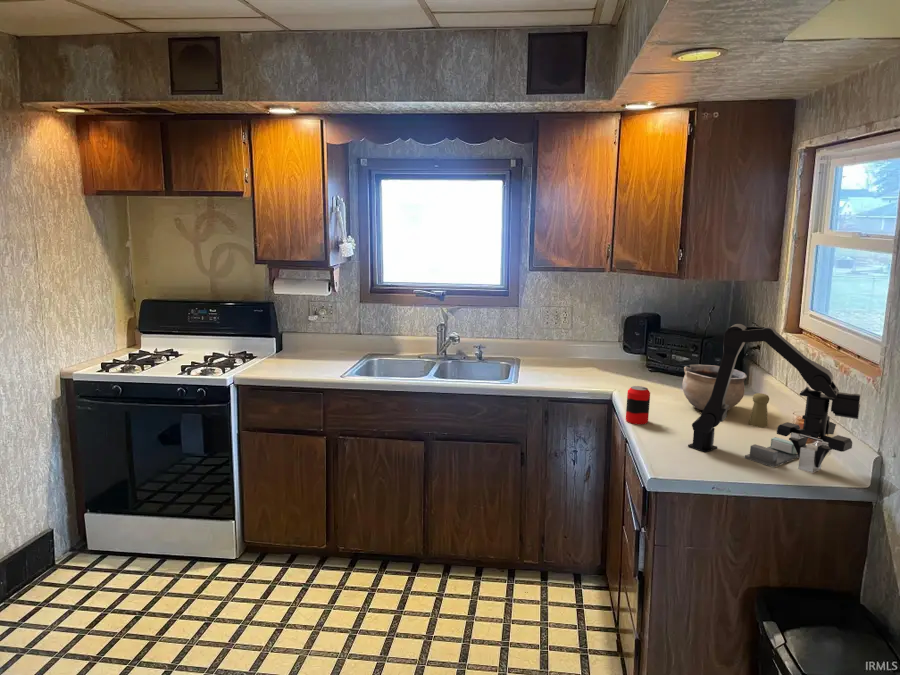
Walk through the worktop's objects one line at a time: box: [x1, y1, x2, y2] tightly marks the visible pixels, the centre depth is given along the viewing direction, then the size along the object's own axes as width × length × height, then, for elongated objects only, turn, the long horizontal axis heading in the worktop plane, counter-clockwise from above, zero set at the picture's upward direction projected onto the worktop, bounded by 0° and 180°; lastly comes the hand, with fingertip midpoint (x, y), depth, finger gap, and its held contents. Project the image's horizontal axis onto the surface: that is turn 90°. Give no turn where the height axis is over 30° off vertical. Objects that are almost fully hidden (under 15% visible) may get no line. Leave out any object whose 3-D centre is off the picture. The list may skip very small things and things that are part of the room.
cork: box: [748, 392, 770, 428], centre depth 236 cm, size 6×6×11 cm
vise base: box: [744, 444, 799, 468], centre depth 204 cm, size 15×9×4 cm, turn 127°
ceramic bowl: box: [682, 364, 748, 411], centre depth 253 cm, size 22×22×15 cm
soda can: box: [625, 385, 651, 426], centre depth 237 cm, size 8×8×12 cm
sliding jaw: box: [769, 437, 797, 454], centre depth 210 cm, size 9×7×4 cm
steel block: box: [798, 443, 822, 474], centre depth 195 cm, size 5×4×6 cm
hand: (809, 464), depth 196 cm, fingers closed on steel block, 4 cm apart
